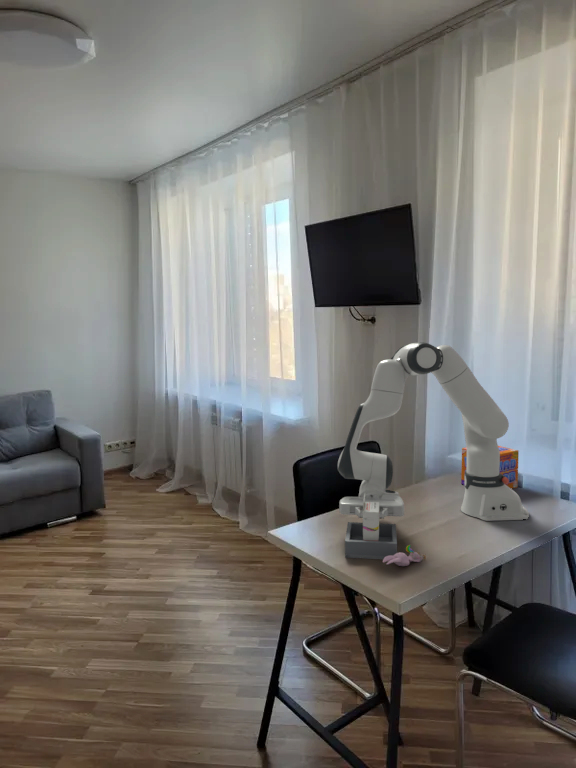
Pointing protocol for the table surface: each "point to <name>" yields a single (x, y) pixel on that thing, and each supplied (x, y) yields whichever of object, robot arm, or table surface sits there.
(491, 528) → the table surface
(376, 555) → the cartridge bin
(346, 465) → the robot arm
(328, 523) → the table surface
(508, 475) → the game box
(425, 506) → the table surface
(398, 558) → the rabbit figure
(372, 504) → the ink cartridge box
